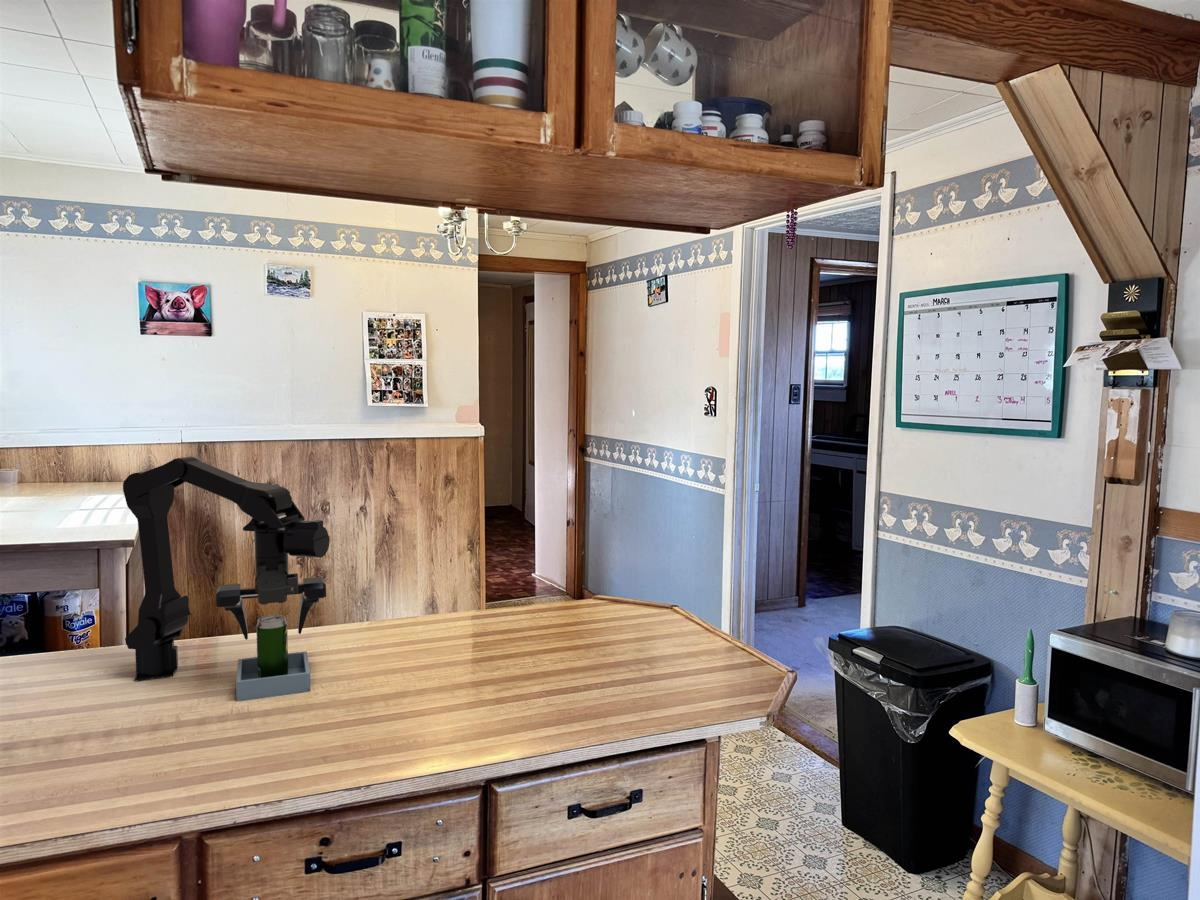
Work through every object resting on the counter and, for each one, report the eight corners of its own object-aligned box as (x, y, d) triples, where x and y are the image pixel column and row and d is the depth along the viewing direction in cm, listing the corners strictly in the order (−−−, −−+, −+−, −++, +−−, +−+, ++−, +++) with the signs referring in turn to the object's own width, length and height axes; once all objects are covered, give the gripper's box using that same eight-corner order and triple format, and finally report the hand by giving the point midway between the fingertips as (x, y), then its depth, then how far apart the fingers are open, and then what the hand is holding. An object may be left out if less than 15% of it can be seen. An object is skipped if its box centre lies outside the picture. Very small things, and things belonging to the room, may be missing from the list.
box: (236, 701, 138) (236, 682, 138) (238, 676, 150) (238, 659, 149) (310, 691, 143) (310, 673, 143) (307, 668, 155) (306, 651, 154)
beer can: (264, 688, 143) (262, 625, 142) (253, 680, 146) (251, 618, 145) (293, 681, 146) (292, 619, 145) (281, 673, 150) (280, 612, 149)
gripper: (213, 568, 133) (215, 656, 135) (327, 560, 141) (329, 643, 142) (216, 554, 143) (219, 636, 145) (323, 547, 151) (324, 625, 152)
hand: (273, 636), depth 146 cm, fingers open, 9 cm apart
